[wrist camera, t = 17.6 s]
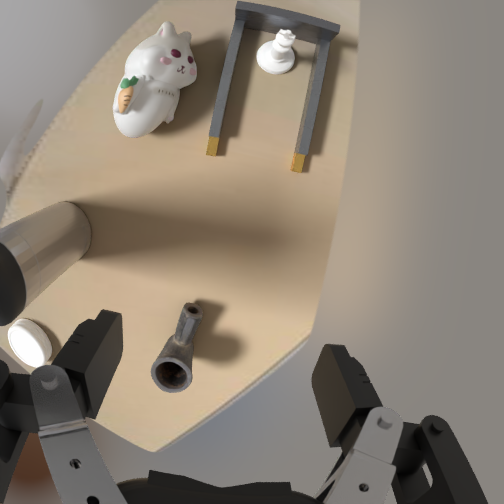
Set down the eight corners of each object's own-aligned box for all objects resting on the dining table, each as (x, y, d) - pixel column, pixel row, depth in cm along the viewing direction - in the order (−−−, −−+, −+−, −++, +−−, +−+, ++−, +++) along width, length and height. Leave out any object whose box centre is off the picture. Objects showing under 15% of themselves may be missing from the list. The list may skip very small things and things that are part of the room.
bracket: (206, 154, 37) (201, 156, 31) (237, 19, 31) (237, 0, 25) (299, 172, 38) (310, 177, 33) (326, 39, 32) (340, 25, 26)
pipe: (213, 306, 45) (209, 338, 37) (190, 365, 48) (184, 398, 41) (174, 293, 44) (163, 323, 36) (156, 354, 47) (146, 386, 40)
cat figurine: (112, 145, 27) (170, 12, 21) (81, 124, 30) (128, 11, 24) (173, 150, 35) (223, 43, 29) (137, 130, 38) (180, 35, 32)
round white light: (44, 365, 48) (37, 376, 45) (11, 334, 46) (2, 343, 42) (59, 342, 46) (51, 353, 43) (22, 308, 44) (13, 317, 40)
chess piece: (266, 35, 32) (275, 5, 22) (300, 51, 33) (319, 25, 23) (250, 64, 33) (255, 40, 24) (285, 80, 34) (301, 60, 25)
